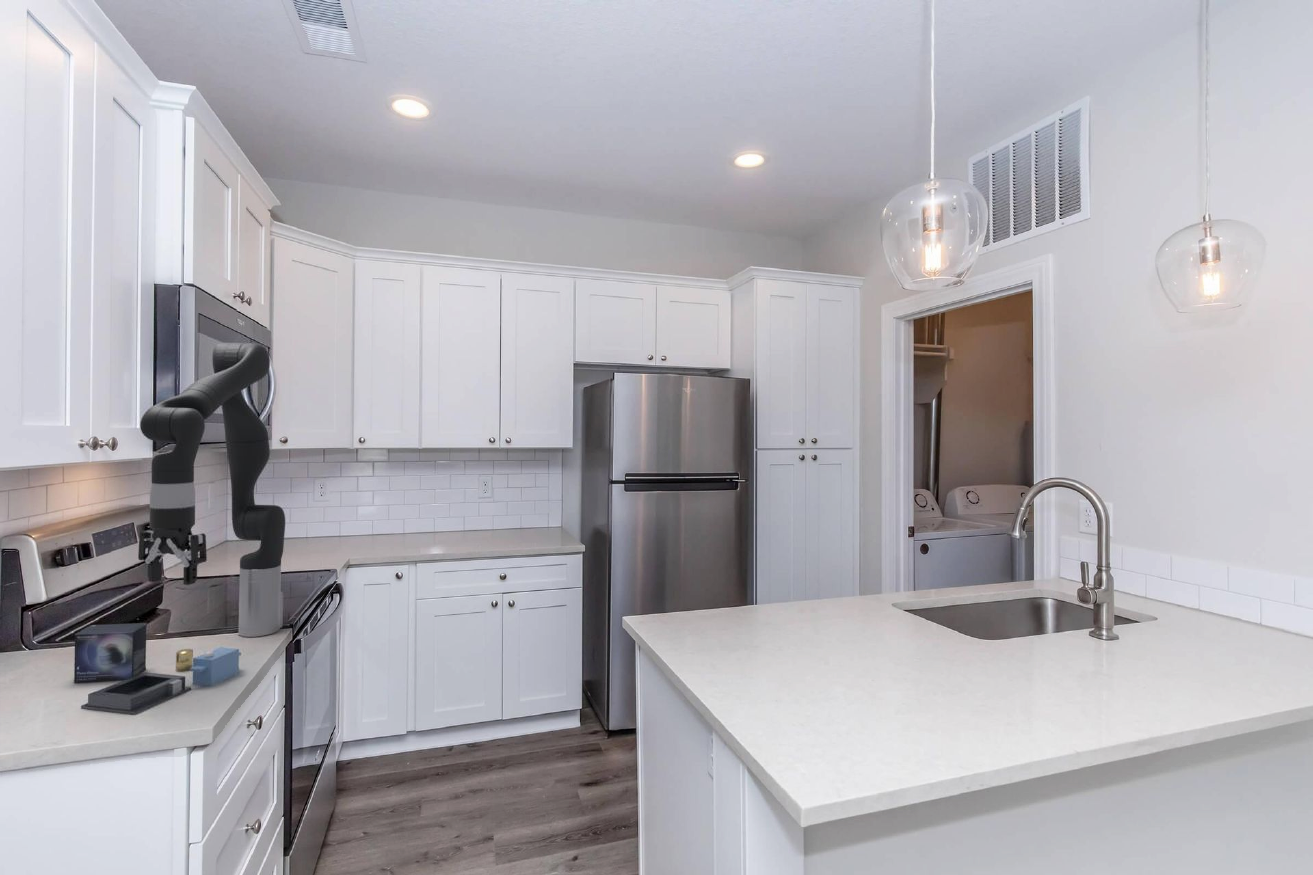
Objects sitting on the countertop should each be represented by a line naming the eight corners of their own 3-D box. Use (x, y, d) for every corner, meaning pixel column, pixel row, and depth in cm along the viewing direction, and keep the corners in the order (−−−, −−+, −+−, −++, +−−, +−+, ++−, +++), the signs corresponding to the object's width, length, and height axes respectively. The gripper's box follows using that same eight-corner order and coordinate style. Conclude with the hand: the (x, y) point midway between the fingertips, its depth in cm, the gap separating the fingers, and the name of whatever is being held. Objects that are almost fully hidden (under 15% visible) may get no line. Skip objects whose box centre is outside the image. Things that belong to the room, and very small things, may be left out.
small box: (71, 684, 133) (72, 633, 133) (89, 672, 139) (90, 624, 139) (131, 680, 136) (132, 630, 136) (147, 669, 142) (148, 621, 142)
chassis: (141, 684, 134) (141, 671, 134) (191, 689, 132) (191, 676, 132) (80, 708, 122) (81, 694, 122) (134, 714, 120) (135, 700, 120)
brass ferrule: (184, 666, 144) (184, 648, 144) (196, 667, 144) (196, 649, 144) (172, 670, 141) (172, 652, 141) (184, 672, 141) (184, 653, 141)
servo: (226, 669, 143) (227, 640, 143) (244, 671, 143) (245, 641, 142) (185, 687, 133) (185, 656, 133) (204, 689, 132) (204, 657, 132)
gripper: (217, 504, 135) (217, 580, 136) (161, 500, 138) (160, 576, 138) (185, 508, 128) (184, 589, 128) (126, 504, 131) (125, 584, 131)
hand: (172, 582), depth 133 cm, fingers open, 8 cm apart
